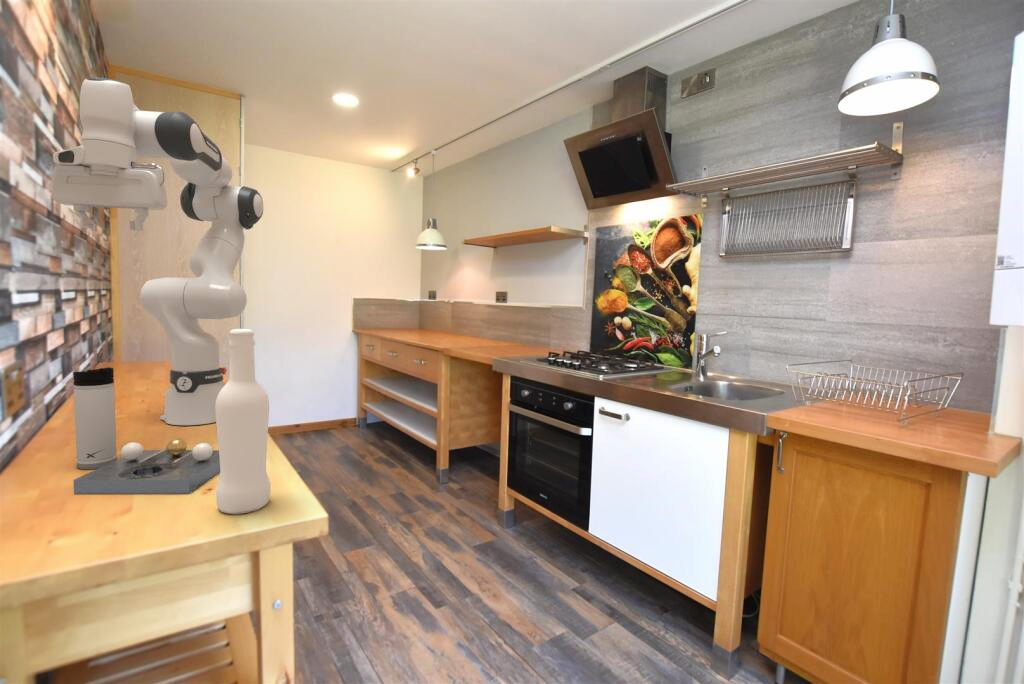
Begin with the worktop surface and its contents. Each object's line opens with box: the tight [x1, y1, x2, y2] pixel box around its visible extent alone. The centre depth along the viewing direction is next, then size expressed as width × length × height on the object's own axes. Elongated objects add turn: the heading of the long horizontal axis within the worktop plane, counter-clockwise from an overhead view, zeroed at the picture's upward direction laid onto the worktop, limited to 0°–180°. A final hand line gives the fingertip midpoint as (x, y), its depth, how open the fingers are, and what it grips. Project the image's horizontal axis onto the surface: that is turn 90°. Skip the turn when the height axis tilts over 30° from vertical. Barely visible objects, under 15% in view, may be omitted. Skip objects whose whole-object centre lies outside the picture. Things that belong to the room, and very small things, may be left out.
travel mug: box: [72, 366, 118, 471], centre depth 100 cm, size 6×7×20 cm
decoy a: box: [192, 442, 214, 461], centre depth 98 cm, size 4×4×4 cm
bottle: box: [215, 328, 272, 515], centre depth 83 cm, size 8×8×30 cm
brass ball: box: [165, 437, 188, 456], centre depth 100 cm, size 4×4×4 cm
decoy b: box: [120, 441, 144, 461], centre depth 96 cm, size 4×4×4 cm
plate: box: [73, 447, 220, 495], centre depth 95 cm, size 17×19×3 cm
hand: (112, 229), depth 103 cm, fingers open, 8 cm apart
